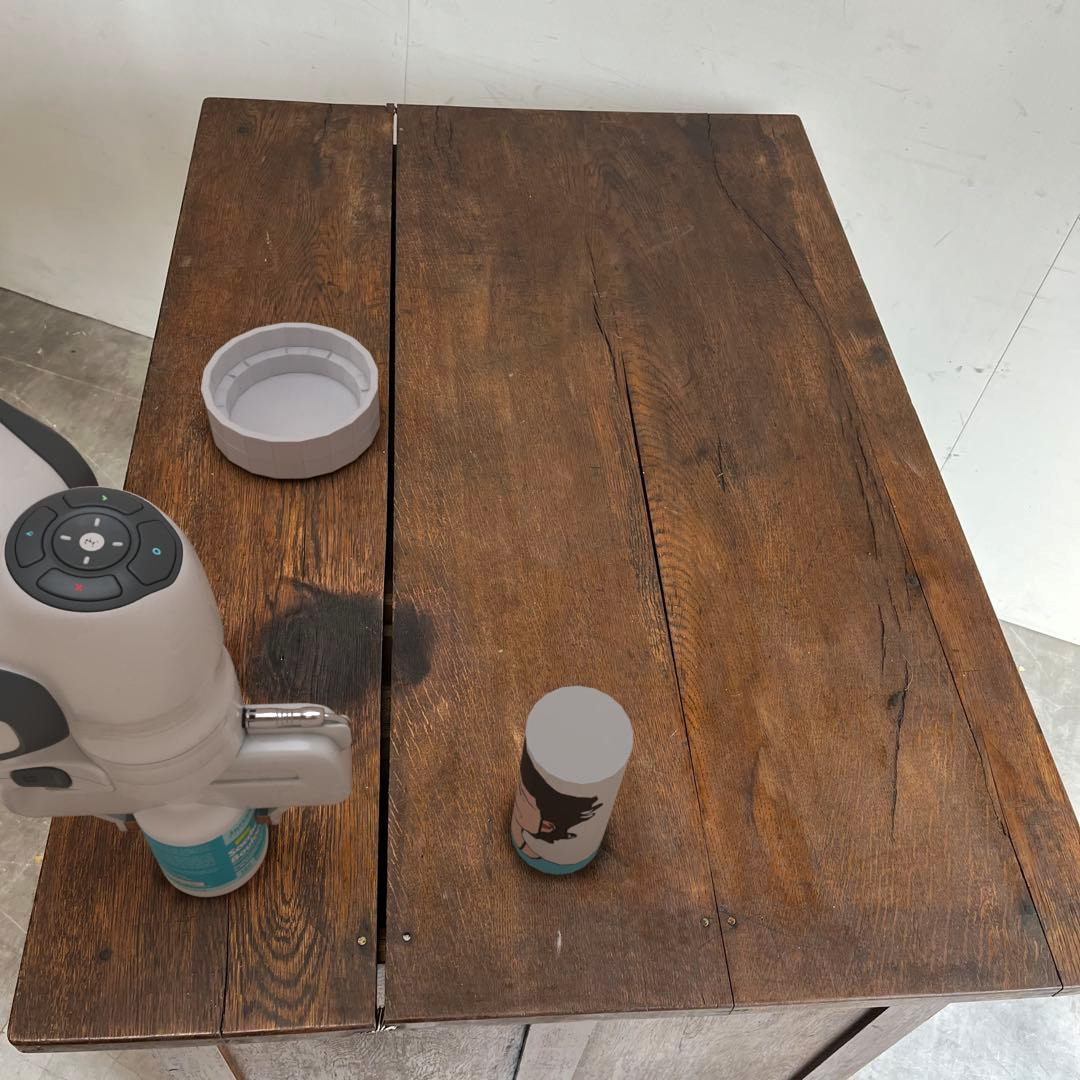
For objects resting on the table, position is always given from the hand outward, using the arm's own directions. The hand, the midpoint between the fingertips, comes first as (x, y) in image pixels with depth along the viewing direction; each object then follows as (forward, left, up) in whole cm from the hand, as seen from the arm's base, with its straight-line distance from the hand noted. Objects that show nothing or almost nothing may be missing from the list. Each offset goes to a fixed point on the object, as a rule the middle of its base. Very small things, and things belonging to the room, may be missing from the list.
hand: (202, 817), depth 68 cm
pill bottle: (0, 0, -6) cm, 6 cm away
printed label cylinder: (+24, 0, -6) cm, 25 cm away
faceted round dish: (+3, +42, -5) cm, 43 cm away
